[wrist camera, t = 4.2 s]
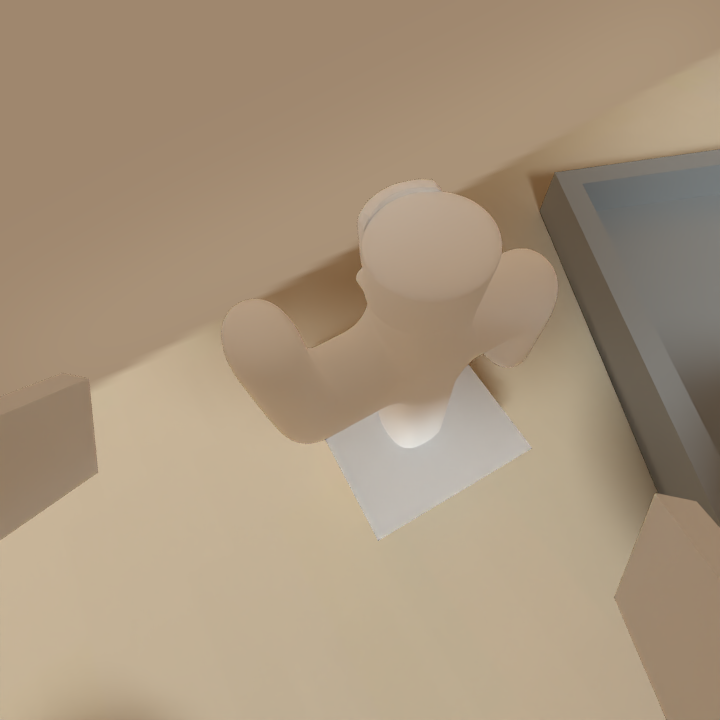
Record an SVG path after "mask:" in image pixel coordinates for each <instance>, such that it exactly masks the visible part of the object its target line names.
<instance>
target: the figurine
mask: <svg viewBox="0 0 720 720" xmlns="http://www.w3.org/2000/svg"><path fill="white" fill-rule="evenodd" d="M357 229H358V239H359V249H360V258H361V264H362V268H361V269H360V270H359V271H358V273H357V276H356V281H357V283H358V284H359V286H360V287H361V288H362V290H363V291H364V295H365V299H366V301H367V307H366V309H365V311H364V313H363V316H362V317H361V318H360V320H359V321H358V322H357V323H356V324H355V325H354V326H353V327H351V328H350V329H349V330H347V331H345V332H344V333H342V334H340V335H338V336H336V337H334V338H332V339H330V340H328V341H326V342H324V343H322V344H320V345H318V346H316V347H313V348H306V346H305V344H304V342H303V339H302V337H301V335H300V333H299V331H298V329H297V328H296V326H295V325H294V323H293V322H292V320H291V319H290V318H289V317H288V316H287V315H286V313H285V312H284V311H283V310H281V309H280V308H279V307H278V306H276V305H275V304H273V303H271V302H269V301H266V300H262V299H247V300H244V301H241V302H239V303H238V304H236V305H234V306H233V307H232V308H231V309H230V310H229V312H228V313H227V314H226V316H225V318H224V321H223V324H222V330H221V340H222V345H223V350H224V353H225V356H226V359H227V361H228V364H229V366H230V367H231V369H232V371H233V373H234V375H235V376H236V378H237V379H238V380H239V382H240V383H241V384H242V386H243V387H244V388H245V390H246V391H247V392H248V393H249V395H250V396H251V397H252V399H253V400H254V401H255V402H256V404H257V405H258V406H259V407H260V409H261V410H262V411H263V412H264V414H265V415H266V416H267V417H268V419H269V420H270V421H271V422H272V424H273V425H274V426H275V427H276V428H277V429H278V430H279V431H280V432H281V433H282V434H283V435H285V436H286V437H288V438H289V439H291V440H292V441H295V442H298V443H303V444H311V443H316V442H320V441H323V440H326V442H327V444H328V446H329V448H330V450H331V451H332V453H333V455H334V457H335V459H336V461H337V463H338V465H339V467H340V469H341V471H342V473H343V474H344V476H345V478H346V480H347V482H348V484H349V486H350V488H351V490H352V492H353V494H354V496H355V497H356V499H357V501H358V503H359V505H360V507H361V509H362V511H363V513H364V515H365V517H366V518H367V520H368V522H369V524H370V526H371V528H372V530H373V532H374V534H375V536H376V538H377V540H378V541H379V540H380V539H382V538H384V537H385V536H387V535H389V534H390V533H392V532H394V531H395V530H397V529H399V528H400V527H402V526H404V525H405V524H407V523H409V522H410V521H412V520H414V519H415V518H417V517H419V516H420V515H422V514H424V513H425V512H427V511H429V510H430V509H432V508H434V507H435V506H437V505H439V504H440V503H442V502H444V501H445V500H447V499H449V498H450V497H452V496H454V495H455V494H457V493H459V492H460V491H462V490H464V489H465V488H467V487H469V486H470V485H472V484H474V483H475V482H477V481H479V480H480V479H482V478H484V477H485V476H487V475H489V474H490V473H492V472H494V471H495V470H497V469H499V468H500V467H502V466H504V465H505V464H507V463H509V462H510V461H512V460H514V459H515V458H517V457H519V456H520V455H522V454H524V453H525V452H527V451H529V450H530V449H532V447H531V446H530V445H529V443H528V442H527V441H526V439H525V438H524V437H523V435H522V434H521V433H520V432H519V430H518V429H517V428H516V426H515V425H514V424H513V422H512V421H511V420H510V418H509V417H508V416H507V414H506V413H505V412H504V410H503V409H502V408H501V406H500V405H499V404H498V402H497V401H496V400H495V399H494V397H493V396H492V395H491V393H490V392H489V391H488V389H487V388H486V387H485V385H484V384H483V383H482V381H481V380H480V379H479V377H478V376H477V375H476V373H475V372H474V371H473V370H472V368H471V367H470V366H469V363H470V362H471V361H472V360H473V359H474V358H476V357H478V356H480V355H482V354H484V355H485V356H486V357H487V358H488V359H489V360H490V361H492V362H493V363H495V364H496V365H498V366H502V367H507V368H509V367H515V366H517V365H519V364H520V363H522V362H523V361H524V359H525V358H526V357H527V355H528V354H529V352H530V350H531V349H532V347H533V345H534V344H535V342H536V340H537V339H538V337H539V335H540V334H541V332H542V330H543V328H544V327H545V325H546V323H547V322H548V320H549V318H550V316H551V314H552V311H553V309H554V306H555V303H556V300H557V295H558V280H557V276H556V273H555V270H554V268H553V267H552V265H551V264H550V263H549V261H548V260H547V259H546V258H545V257H544V256H543V255H541V254H540V253H538V252H536V251H533V250H530V249H524V248H518V249H512V250H509V251H506V252H503V253H502V239H501V234H500V231H499V228H498V226H497V224H496V222H495V221H494V219H493V218H492V216H491V215H490V214H489V213H488V212H487V211H486V210H485V209H484V208H483V207H481V206H480V205H478V204H477V203H476V202H474V201H472V200H470V199H468V198H466V197H464V196H461V195H457V194H454V193H450V192H444V191H442V189H441V187H440V186H439V185H438V184H437V183H436V182H435V181H434V180H431V179H415V180H410V181H405V182H400V183H396V184H393V185H391V186H388V187H386V188H384V189H383V190H381V191H379V192H378V193H377V194H375V195H374V196H373V197H372V198H370V199H369V200H368V201H367V202H366V204H365V206H364V207H363V209H362V210H361V212H360V213H359V216H358V222H357Z"/></svg>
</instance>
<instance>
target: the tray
mask: <svg viewBox="0 0 720 720" xmlns="http://www.w3.org/2000/svg"><path fill="white" fill-rule="evenodd" d="M540 213H541V215H542V218H543V220H544V222H545V225H546V227H547V230H548V232H549V234H550V237H551V239H552V241H553V244H554V246H555V249H556V251H557V253H558V256H559V258H560V260H561V263H562V265H563V268H564V270H565V272H566V275H567V277H568V279H569V282H570V284H571V287H572V289H573V291H574V294H575V296H576V298H577V301H578V303H579V306H580V308H581V310H582V313H583V315H584V317H585V320H586V322H587V325H588V327H589V329H590V332H591V334H592V336H593V339H594V341H595V344H596V346H597V348H598V351H599V353H600V355H601V358H602V360H603V363H604V365H605V367H606V370H607V372H608V374H609V377H610V379H611V382H612V384H613V386H614V389H615V391H616V393H617V396H618V398H619V401H620V403H621V405H622V408H623V410H624V412H625V415H626V417H627V420H628V422H629V424H630V427H631V429H632V431H633V434H634V436H635V439H636V441H637V443H638V446H639V448H640V450H641V453H642V455H643V458H644V460H645V462H646V465H647V467H648V469H649V472H650V474H651V477H652V479H653V481H654V484H655V486H656V488H657V491H658V493H659V494H663V495H668V496H673V497H677V498H682V499H687V500H692V501H697V502H698V504H699V505H700V506H701V507H702V508H703V509H704V510H705V512H706V513H707V514H708V515H709V516H710V517H711V518H712V520H713V521H714V522H715V523H716V524H717V525H718V526H719V528H720V149H719V150H712V151H704V152H697V153H690V154H683V155H676V156H669V157H662V158H654V159H647V160H640V161H633V162H626V163H619V164H612V165H604V166H597V167H590V168H583V169H576V170H569V171H562V172H555V173H554V176H553V179H552V181H551V184H550V186H549V189H548V191H547V194H546V196H545V199H544V201H543V204H542V207H541V209H540Z"/></svg>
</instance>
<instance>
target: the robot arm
mask: <svg viewBox="0 0 720 720" xmlns="http://www.w3.org/2000/svg"><path fill="white" fill-rule="evenodd" d="M96 473H98V466H97V456H96V445H95V435H94V425H93V415H92V404H91V394H90V384H89V378H86V377H81V376H76V375H71V374H66V373H61V374H58V375H56V376H53V377H50V378H48V379H45V380H42V381H40V382H37V383H34V384H32V385H29V386H27V387H24V388H21V389H19V390H16V391H13V392H11V393H8V394H5V395H3V396H0V540H1V539H3V538H4V537H6V536H7V535H9V534H10V533H11V532H13V531H14V530H16V529H17V528H19V527H20V526H21V525H23V524H24V523H26V522H27V521H29V520H30V519H32V518H33V517H34V516H36V515H37V514H39V513H40V512H42V511H43V510H45V509H46V508H47V507H49V506H50V505H52V504H53V503H55V502H56V501H58V500H59V499H60V498H62V497H63V496H65V495H66V494H68V493H69V492H70V491H72V490H73V489H75V488H76V487H78V486H79V485H81V484H82V483H83V482H85V481H86V480H88V479H89V478H91V477H92V476H94V475H95V474H96ZM614 598H615V601H616V603H617V605H618V608H619V610H620V612H621V615H622V617H623V619H624V622H625V624H626V626H627V629H628V631H629V634H630V636H631V638H632V641H633V643H634V645H635V648H636V650H637V652H638V655H639V657H640V659H641V662H642V664H643V666H644V669H645V671H646V673H647V676H648V678H649V680H650V683H651V685H652V687H653V690H654V692H655V694H656V697H657V699H658V701H659V704H660V706H661V708H662V711H663V713H664V716H665V718H666V720H720V528H719V526H718V525H717V524H716V523H715V522H714V521H713V520H712V518H711V517H710V516H709V515H708V514H707V513H706V512H705V510H704V509H703V508H702V507H701V506H700V505H699V504H698V502H697V501H692V500H687V499H682V498H677V497H673V496H668V495H663V494H658V493H655V494H654V497H653V499H652V502H651V504H650V507H649V510H648V512H647V515H646V517H645V520H644V522H643V525H642V527H641V530H640V532H639V535H638V538H637V540H636V543H635V545H634V548H633V550H632V553H631V555H630V558H629V561H628V563H627V566H626V568H625V571H624V573H623V576H622V578H621V581H620V583H619V586H618V589H617V591H616V594H615V596H614Z"/></svg>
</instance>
